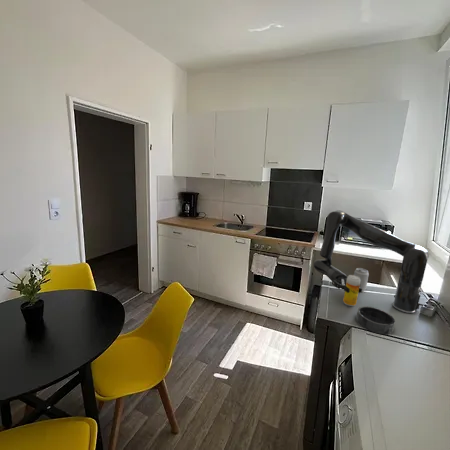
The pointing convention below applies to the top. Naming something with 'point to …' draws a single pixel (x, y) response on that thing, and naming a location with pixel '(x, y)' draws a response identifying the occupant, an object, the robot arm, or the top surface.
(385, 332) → the dark grey bowl
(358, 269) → the can
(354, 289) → the beer can
